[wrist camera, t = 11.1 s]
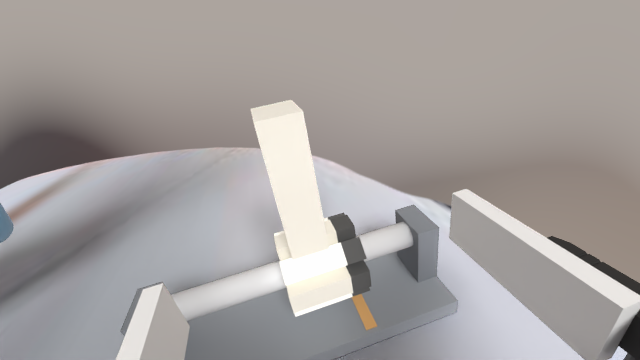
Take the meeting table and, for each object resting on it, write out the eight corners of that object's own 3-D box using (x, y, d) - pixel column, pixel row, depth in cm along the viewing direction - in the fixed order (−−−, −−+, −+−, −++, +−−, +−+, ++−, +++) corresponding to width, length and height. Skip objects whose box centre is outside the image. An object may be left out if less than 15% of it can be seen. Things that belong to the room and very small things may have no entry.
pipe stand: (155, 427, 21) (102, 374, 17) (179, 315, 30) (147, 264, 26) (456, 311, 25) (463, 249, 21) (400, 243, 34) (398, 190, 30)
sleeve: (300, 333, 23) (236, 133, 15) (287, 273, 29) (236, 107, 21) (356, 313, 24) (325, 112, 15) (332, 258, 30) (300, 93, 22)
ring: (356, 313, 24) (347, 252, 20) (332, 258, 30) (321, 205, 26) (373, 306, 24) (367, 245, 21) (346, 254, 30) (337, 200, 27)
